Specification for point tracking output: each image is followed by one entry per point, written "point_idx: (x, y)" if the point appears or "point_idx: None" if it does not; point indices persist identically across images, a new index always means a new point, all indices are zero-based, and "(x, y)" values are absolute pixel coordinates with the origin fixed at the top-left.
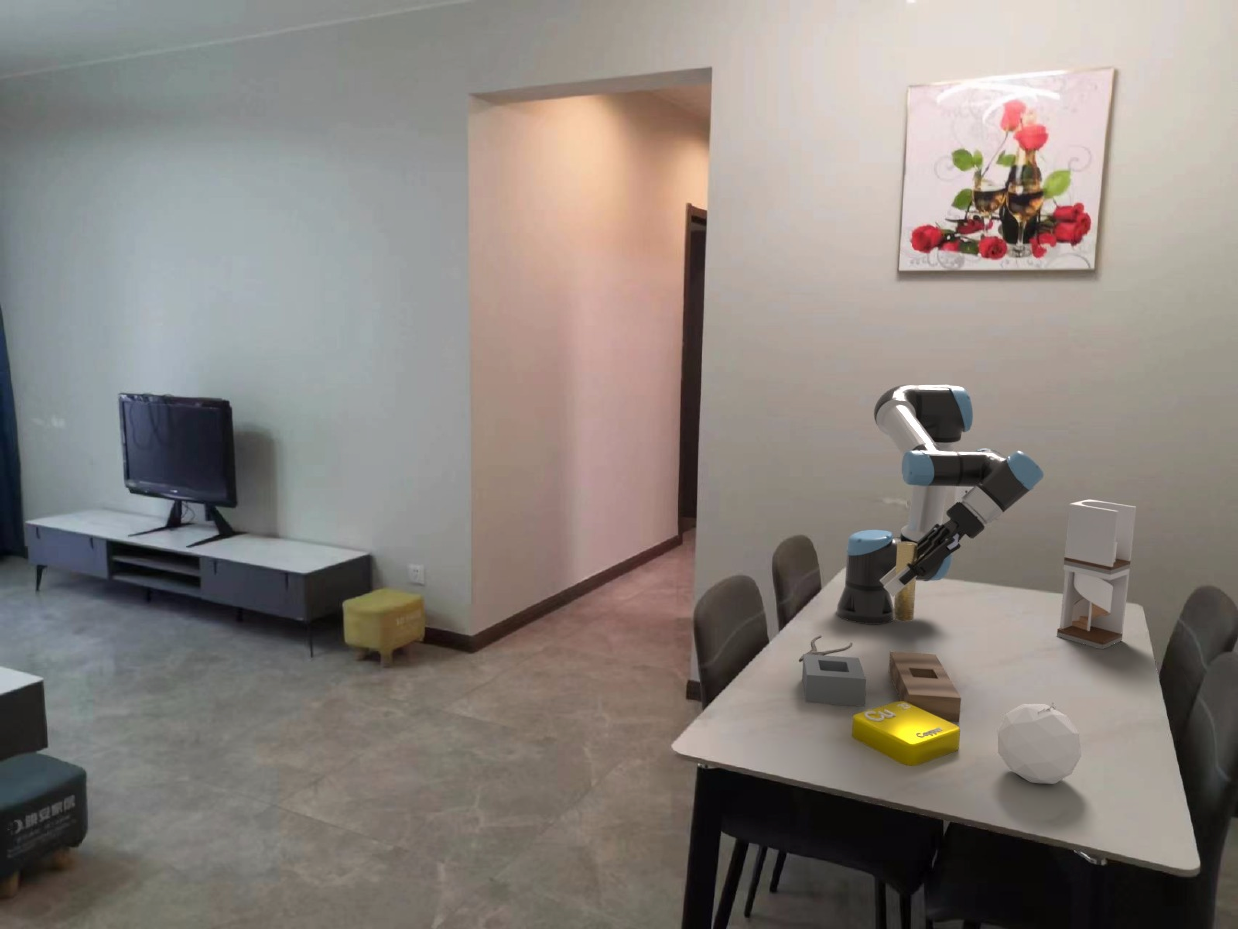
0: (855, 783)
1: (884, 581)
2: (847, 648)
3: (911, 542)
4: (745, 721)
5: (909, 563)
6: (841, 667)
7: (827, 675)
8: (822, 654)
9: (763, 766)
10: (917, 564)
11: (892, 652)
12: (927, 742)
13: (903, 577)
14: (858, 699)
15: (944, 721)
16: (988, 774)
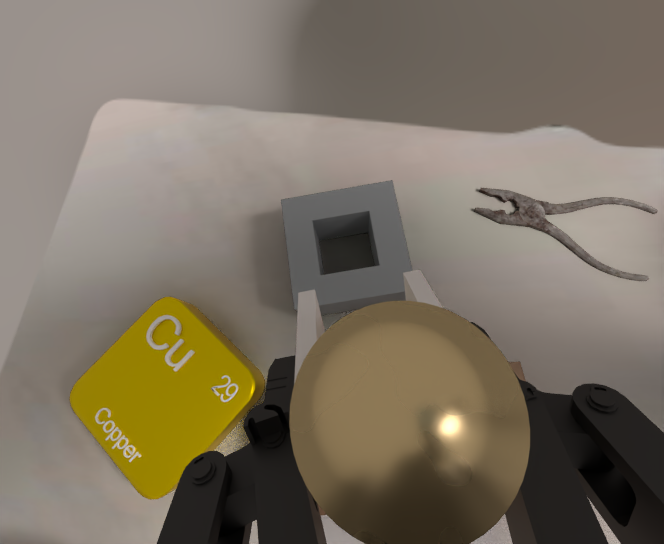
0: (35, 315)
1: (408, 292)
2: (605, 271)
3: (499, 473)
4: (197, 152)
5: (258, 421)
6: (377, 260)
7: (289, 235)
8: (532, 225)
9: (68, 196)
10: (209, 488)
11: (515, 367)
12: (87, 428)
13: (268, 379)
14: None
15: (173, 469)
16: (84, 531)
